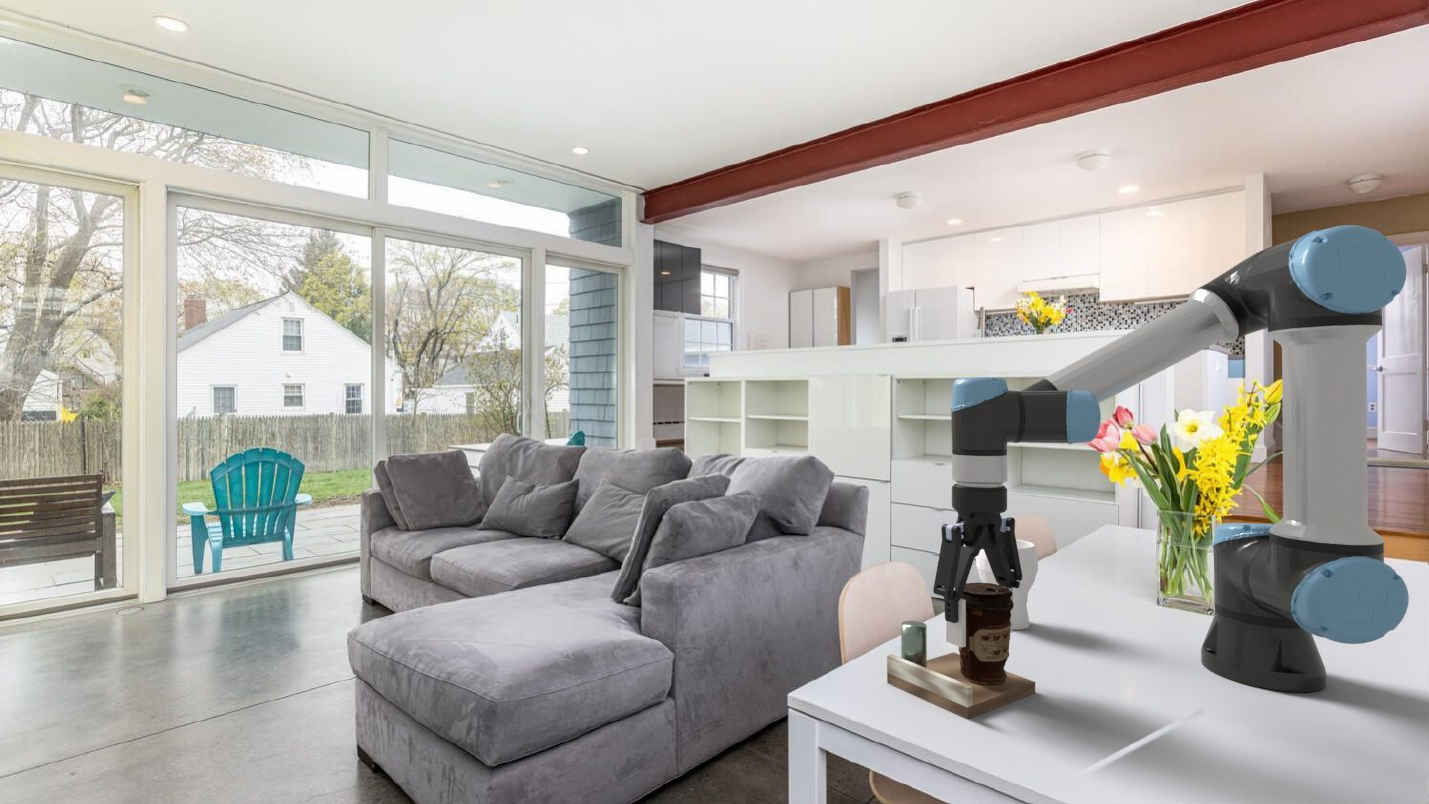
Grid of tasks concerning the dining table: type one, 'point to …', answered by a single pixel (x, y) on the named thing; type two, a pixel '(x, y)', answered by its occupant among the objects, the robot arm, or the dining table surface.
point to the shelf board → (954, 685)
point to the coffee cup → (986, 632)
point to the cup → (1028, 577)
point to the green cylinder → (914, 642)
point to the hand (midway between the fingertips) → (979, 637)
